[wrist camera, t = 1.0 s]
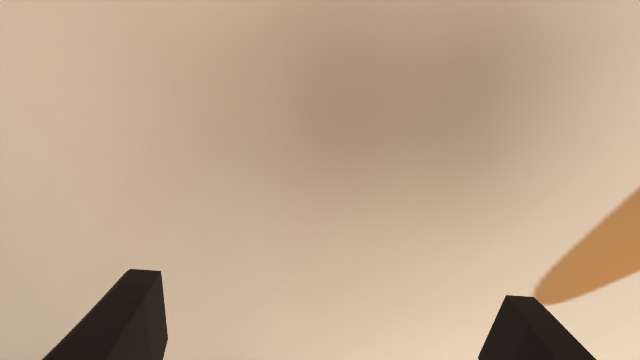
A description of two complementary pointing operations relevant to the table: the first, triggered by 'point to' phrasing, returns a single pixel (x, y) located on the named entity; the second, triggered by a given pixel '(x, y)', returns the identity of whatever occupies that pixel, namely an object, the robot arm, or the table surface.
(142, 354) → the robot arm
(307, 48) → the table surface
